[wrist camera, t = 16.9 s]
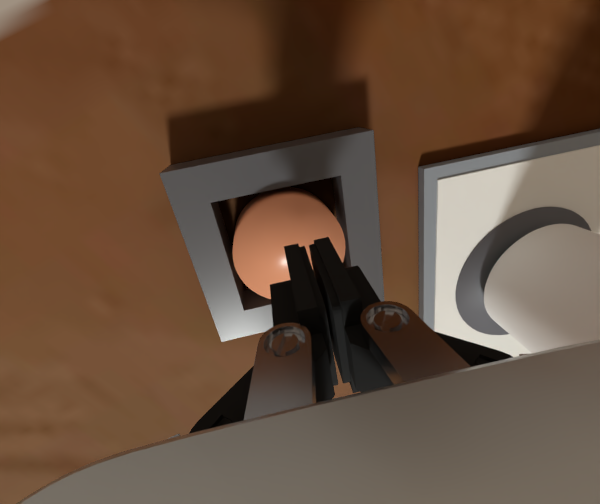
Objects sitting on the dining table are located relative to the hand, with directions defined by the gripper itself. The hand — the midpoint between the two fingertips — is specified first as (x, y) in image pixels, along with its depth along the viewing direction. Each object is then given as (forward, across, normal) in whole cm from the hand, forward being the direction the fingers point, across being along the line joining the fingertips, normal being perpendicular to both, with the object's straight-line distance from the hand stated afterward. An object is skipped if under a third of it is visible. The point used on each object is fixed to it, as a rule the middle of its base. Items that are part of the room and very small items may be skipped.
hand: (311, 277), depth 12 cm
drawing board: (+6, -13, +6) cm, 16 cm away
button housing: (+6, +1, 0) cm, 6 cm away
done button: (+5, +1, 0) cm, 5 cm away
